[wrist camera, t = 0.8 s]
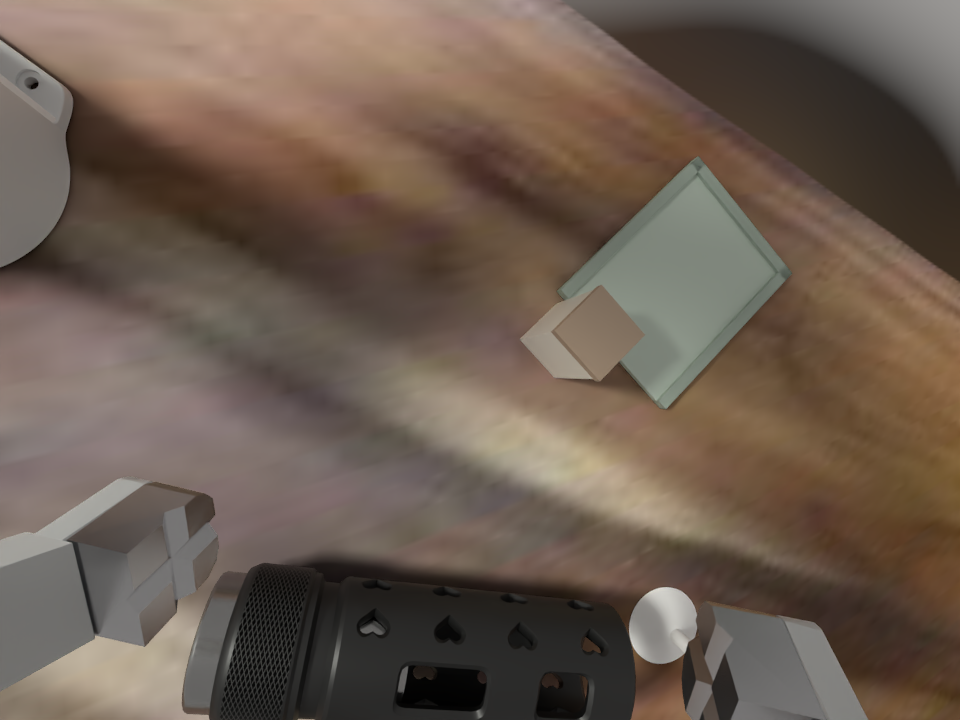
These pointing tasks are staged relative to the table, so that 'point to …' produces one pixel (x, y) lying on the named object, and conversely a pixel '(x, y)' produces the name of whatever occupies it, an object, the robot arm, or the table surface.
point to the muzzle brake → (400, 652)
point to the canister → (583, 336)
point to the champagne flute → (662, 625)
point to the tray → (683, 279)
